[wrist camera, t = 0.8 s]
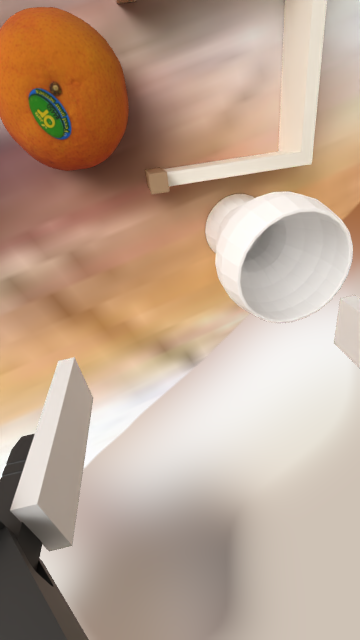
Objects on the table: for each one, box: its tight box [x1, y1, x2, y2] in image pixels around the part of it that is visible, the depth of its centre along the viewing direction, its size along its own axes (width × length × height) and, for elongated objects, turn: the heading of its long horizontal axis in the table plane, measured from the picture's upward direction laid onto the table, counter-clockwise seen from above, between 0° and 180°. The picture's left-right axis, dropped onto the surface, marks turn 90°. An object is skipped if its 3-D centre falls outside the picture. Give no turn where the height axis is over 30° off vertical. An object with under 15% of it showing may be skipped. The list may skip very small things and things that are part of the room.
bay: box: [116, 0, 327, 194], centre depth 26 cm, size 16×16×7 cm
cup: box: [205, 192, 353, 323], centre depth 29 cm, size 11×11×15 cm
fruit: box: [0, 7, 129, 171], centre depth 24 cm, size 11×10×8 cm
